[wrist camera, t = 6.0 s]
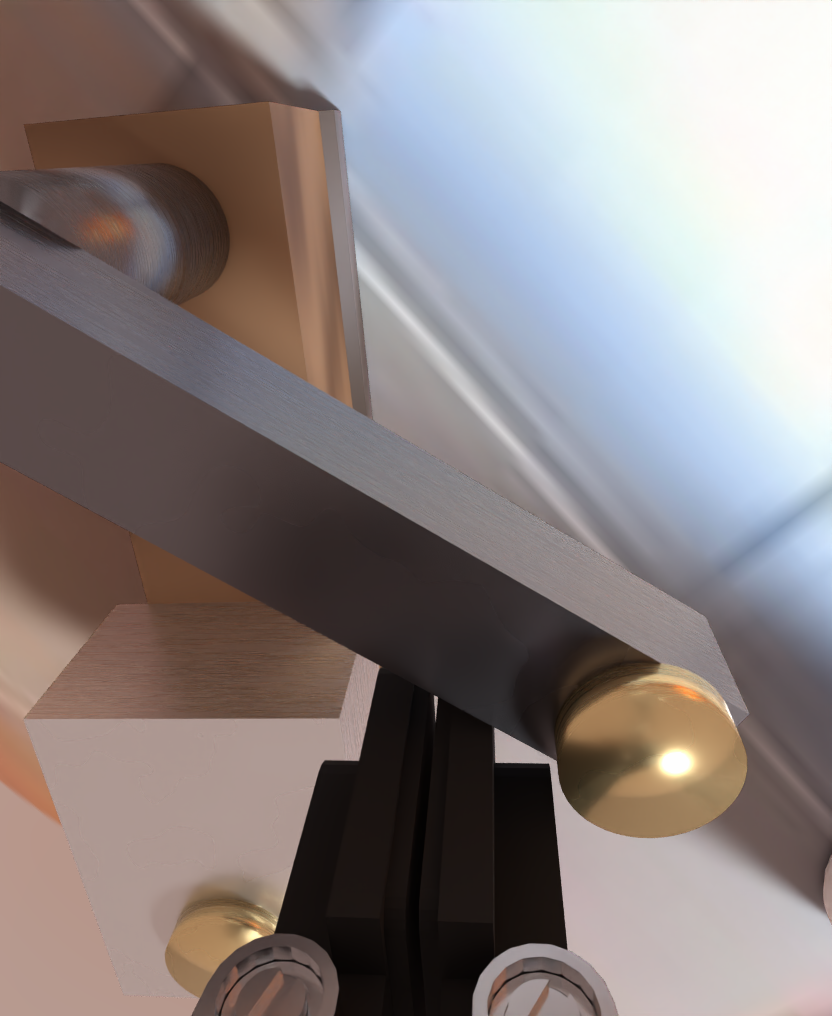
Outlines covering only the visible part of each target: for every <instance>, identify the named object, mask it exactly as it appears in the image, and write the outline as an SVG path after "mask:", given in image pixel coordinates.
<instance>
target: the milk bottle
mask: <svg viewBox="0 0 832 1016" xmlns="http://www.w3.org/2000/svg"><path fill="white" fill-rule="evenodd" d="M823 899H824V906H825V909H826V912H827V915H828V917H829V920H830V922H831V925H832V854H831V856H830V859H829V862H828V865H827V867H826V869H825V879H824V887H823Z"/></svg>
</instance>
